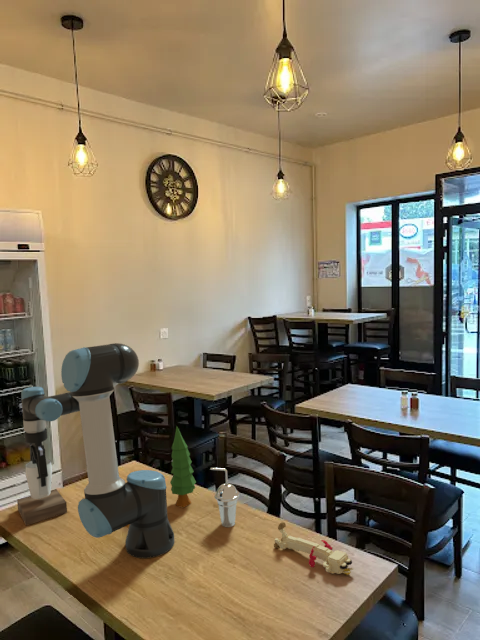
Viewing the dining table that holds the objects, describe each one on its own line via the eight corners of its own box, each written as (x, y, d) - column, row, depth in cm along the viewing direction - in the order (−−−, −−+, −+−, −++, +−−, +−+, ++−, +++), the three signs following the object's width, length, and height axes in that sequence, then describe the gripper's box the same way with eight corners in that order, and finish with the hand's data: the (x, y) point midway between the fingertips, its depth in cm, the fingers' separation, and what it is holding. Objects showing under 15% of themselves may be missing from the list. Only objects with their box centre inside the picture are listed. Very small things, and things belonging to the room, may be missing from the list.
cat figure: (270, 555, 143) (342, 583, 126) (267, 527, 143) (339, 551, 126) (290, 541, 150) (360, 565, 133) (287, 514, 150) (357, 535, 133)
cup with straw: (235, 532, 155) (232, 473, 153) (210, 527, 158) (207, 469, 156) (244, 519, 162) (242, 463, 161) (220, 515, 166) (217, 460, 164)
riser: (67, 512, 173) (66, 502, 172) (25, 525, 164) (24, 514, 164) (57, 498, 184) (56, 488, 184) (18, 510, 176) (17, 499, 176)
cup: (44, 501, 168) (41, 468, 167) (22, 499, 170) (19, 467, 169) (59, 489, 177) (56, 459, 176) (37, 488, 179) (35, 458, 178)
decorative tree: (166, 506, 174) (161, 427, 171) (179, 495, 183) (175, 419, 180) (189, 510, 170) (185, 429, 168) (201, 498, 179) (197, 421, 176)
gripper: (54, 435, 165) (58, 497, 167) (39, 420, 182) (44, 477, 184) (31, 440, 160) (36, 503, 163) (18, 425, 178) (23, 482, 180)
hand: (40, 489), depth 173 cm, fingers closed on cup, 9 cm apart
